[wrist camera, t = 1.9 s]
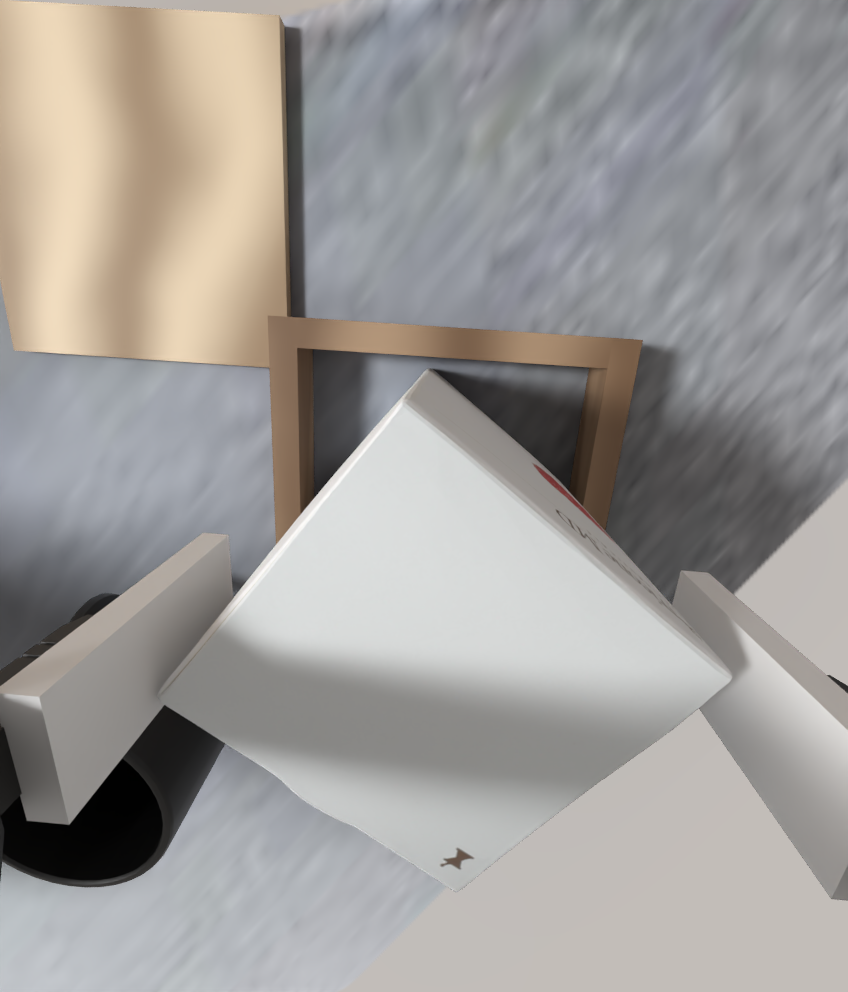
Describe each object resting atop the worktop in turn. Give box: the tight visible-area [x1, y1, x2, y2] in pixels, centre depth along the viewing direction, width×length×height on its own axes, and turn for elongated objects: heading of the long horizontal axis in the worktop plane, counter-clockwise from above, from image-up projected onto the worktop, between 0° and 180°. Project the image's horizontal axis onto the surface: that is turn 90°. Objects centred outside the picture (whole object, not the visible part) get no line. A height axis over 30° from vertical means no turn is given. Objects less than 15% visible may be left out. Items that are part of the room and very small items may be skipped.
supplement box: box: [157, 368, 732, 892], centre depth 17 cm, size 9×9×15 cm
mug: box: [0, 594, 225, 887], centre depth 23 cm, size 9×12×9 cm
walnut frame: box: [268, 315, 643, 544], centre depth 23 cm, size 15×15×2 cm
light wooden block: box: [0, 0, 291, 368], centre depth 20 cm, size 13×13×1 cm
